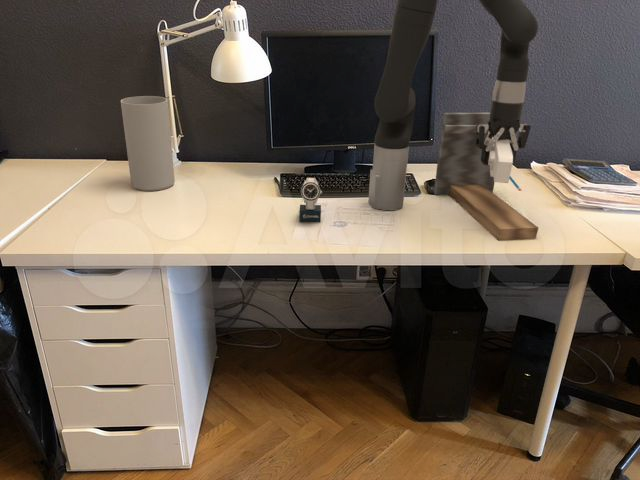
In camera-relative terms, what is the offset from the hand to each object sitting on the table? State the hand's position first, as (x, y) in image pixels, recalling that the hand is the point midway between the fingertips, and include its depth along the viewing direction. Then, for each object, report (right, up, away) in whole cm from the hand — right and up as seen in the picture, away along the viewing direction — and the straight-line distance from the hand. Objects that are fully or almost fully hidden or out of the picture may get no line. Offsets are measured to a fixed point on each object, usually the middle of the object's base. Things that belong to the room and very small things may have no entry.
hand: (497, 163), depth 140 cm
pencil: (+16, -2, +33) cm, 37 cm away
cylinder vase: (-97, -3, +21) cm, 99 cm away
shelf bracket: (0, -2, +3) cm, 3 cm away
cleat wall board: (0, -13, +6) cm, 14 cm away
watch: (-49, -15, 0) cm, 51 cm away
